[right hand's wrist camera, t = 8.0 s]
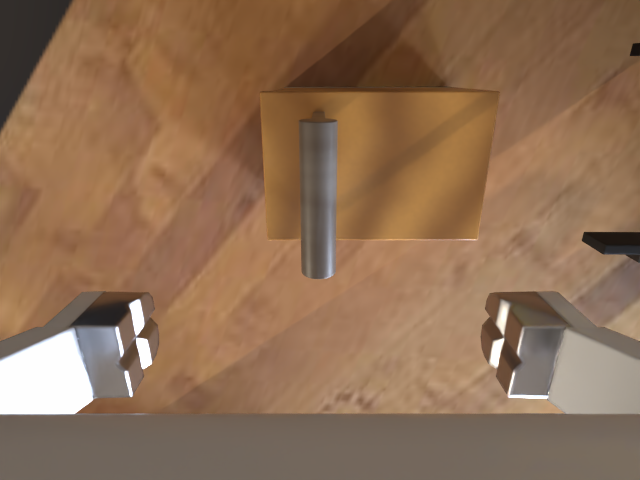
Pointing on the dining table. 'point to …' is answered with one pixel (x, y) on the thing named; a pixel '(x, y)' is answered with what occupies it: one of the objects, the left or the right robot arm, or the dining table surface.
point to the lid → (374, 167)
